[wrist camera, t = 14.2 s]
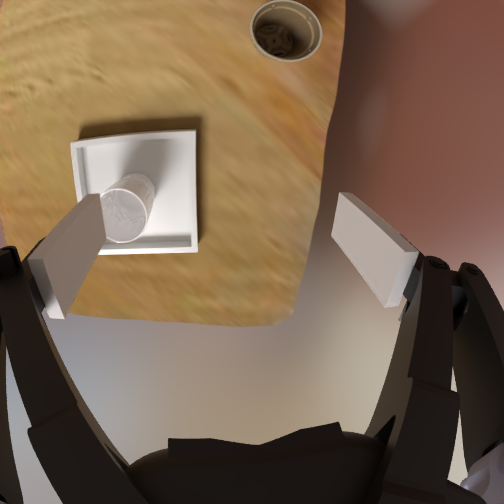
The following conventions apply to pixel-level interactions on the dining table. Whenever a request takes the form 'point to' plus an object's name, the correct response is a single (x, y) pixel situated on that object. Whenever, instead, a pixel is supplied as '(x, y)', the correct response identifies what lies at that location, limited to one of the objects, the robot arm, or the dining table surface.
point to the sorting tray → (161, 174)
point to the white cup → (127, 207)
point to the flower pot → (285, 30)
